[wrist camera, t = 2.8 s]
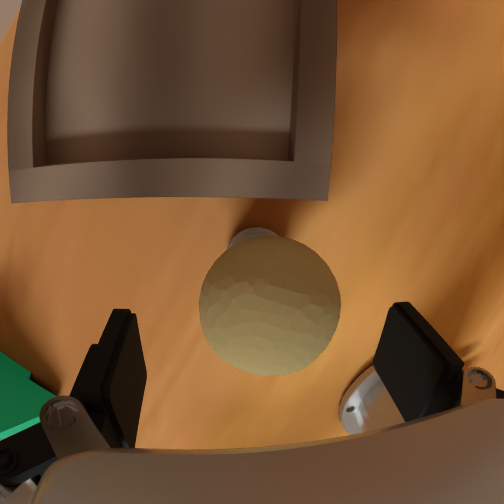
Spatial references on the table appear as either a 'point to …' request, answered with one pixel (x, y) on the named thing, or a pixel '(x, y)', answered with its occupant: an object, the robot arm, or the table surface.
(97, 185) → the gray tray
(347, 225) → the table surface
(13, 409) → the camera mount
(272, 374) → the light bulb
